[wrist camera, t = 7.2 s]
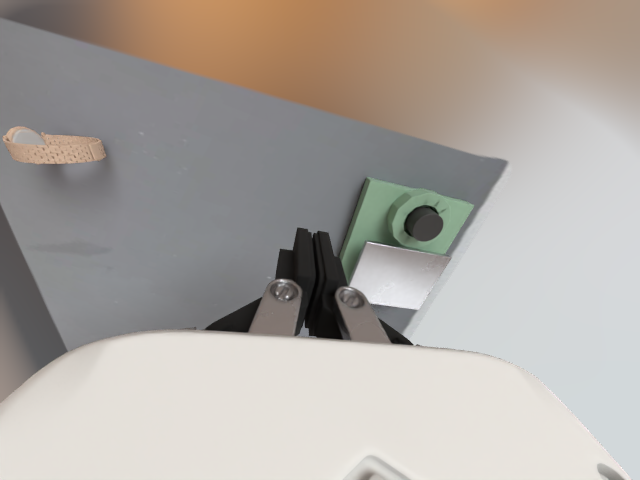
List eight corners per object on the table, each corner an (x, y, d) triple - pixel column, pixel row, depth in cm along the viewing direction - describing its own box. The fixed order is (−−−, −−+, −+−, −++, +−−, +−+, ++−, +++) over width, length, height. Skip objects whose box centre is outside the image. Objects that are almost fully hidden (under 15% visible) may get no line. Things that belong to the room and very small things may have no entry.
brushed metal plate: (365, 239, 23) (366, 241, 22) (448, 254, 25) (452, 257, 24) (342, 296, 27) (343, 300, 26) (416, 306, 29) (419, 310, 28)
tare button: (413, 204, 22) (421, 210, 20) (439, 210, 22) (449, 217, 21) (400, 230, 23) (407, 239, 22) (425, 235, 24) (434, 244, 22)
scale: (368, 172, 23) (377, 180, 20) (468, 197, 25) (488, 207, 22) (330, 281, 29) (333, 298, 27) (411, 293, 32) (422, 310, 29)
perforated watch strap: (50, 124, 19) (-26, 128, 14) (113, 131, 19) (59, 137, 15) (64, 158, 20) (-2, 171, 16) (123, 164, 20) (76, 177, 16)
